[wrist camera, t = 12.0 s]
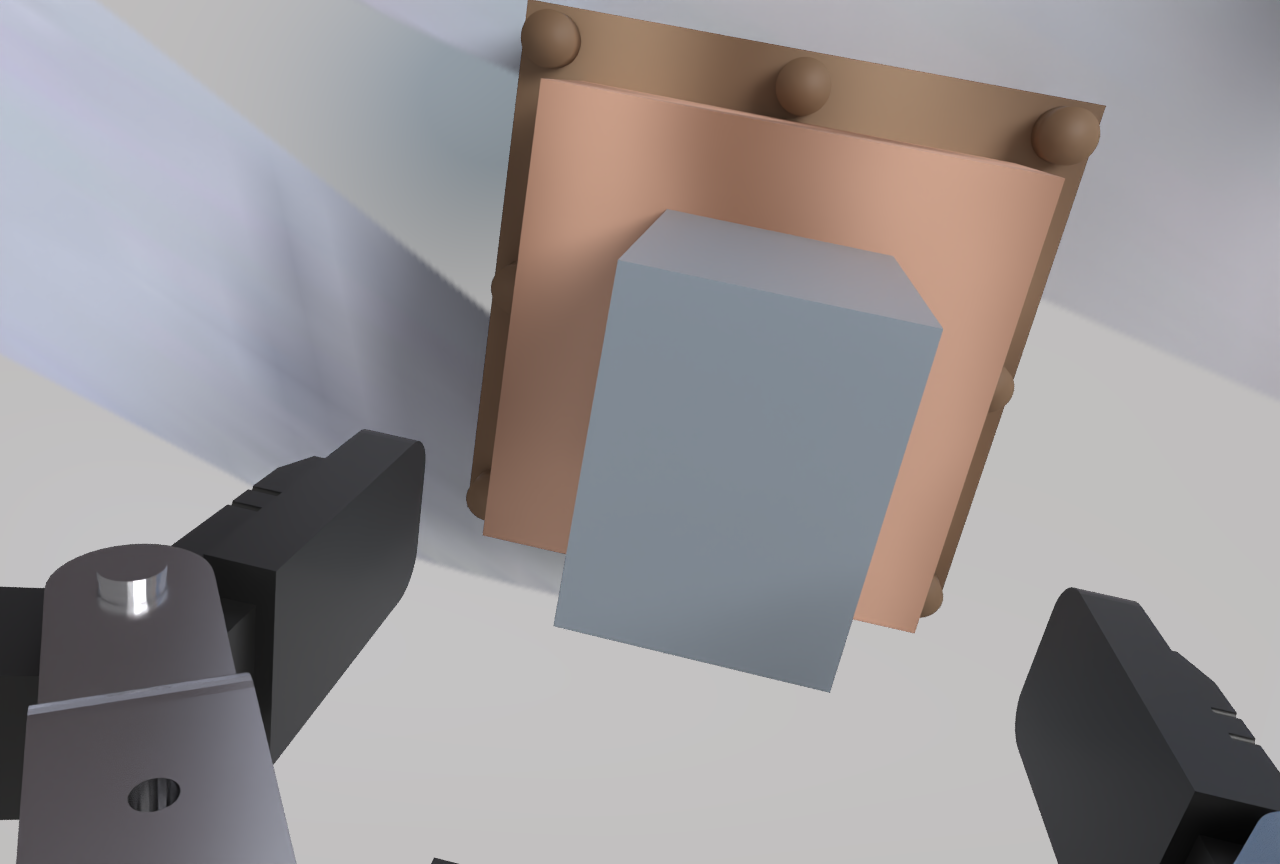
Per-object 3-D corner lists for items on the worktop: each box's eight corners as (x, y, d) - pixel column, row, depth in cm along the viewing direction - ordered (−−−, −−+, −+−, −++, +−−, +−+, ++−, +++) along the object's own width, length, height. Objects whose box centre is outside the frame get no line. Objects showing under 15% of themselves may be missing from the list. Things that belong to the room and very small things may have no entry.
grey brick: (893, 255, 18) (942, 329, 13) (816, 527, 20) (829, 692, 15) (667, 209, 18) (618, 259, 13) (615, 481, 21) (553, 626, 15)
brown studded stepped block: (1045, 103, 25) (1179, 108, 17) (910, 530, 30) (961, 703, 21) (573, 15, 26) (474, -22, 18) (515, 443, 31) (415, 576, 22)
